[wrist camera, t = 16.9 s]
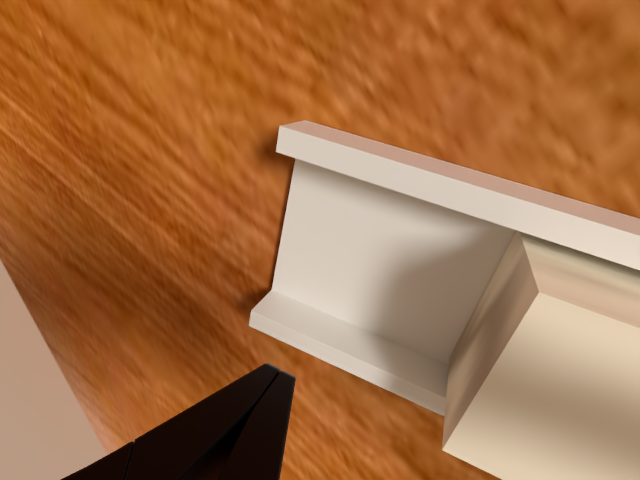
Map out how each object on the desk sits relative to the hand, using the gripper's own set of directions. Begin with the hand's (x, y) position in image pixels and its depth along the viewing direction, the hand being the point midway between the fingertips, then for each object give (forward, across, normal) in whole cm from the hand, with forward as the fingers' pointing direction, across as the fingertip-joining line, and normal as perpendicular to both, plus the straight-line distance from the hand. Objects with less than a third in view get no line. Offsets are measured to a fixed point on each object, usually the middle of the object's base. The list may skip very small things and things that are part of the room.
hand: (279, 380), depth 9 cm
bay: (+9, -5, 0) cm, 10 cm away
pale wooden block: (+8, -9, 0) cm, 12 cm away
